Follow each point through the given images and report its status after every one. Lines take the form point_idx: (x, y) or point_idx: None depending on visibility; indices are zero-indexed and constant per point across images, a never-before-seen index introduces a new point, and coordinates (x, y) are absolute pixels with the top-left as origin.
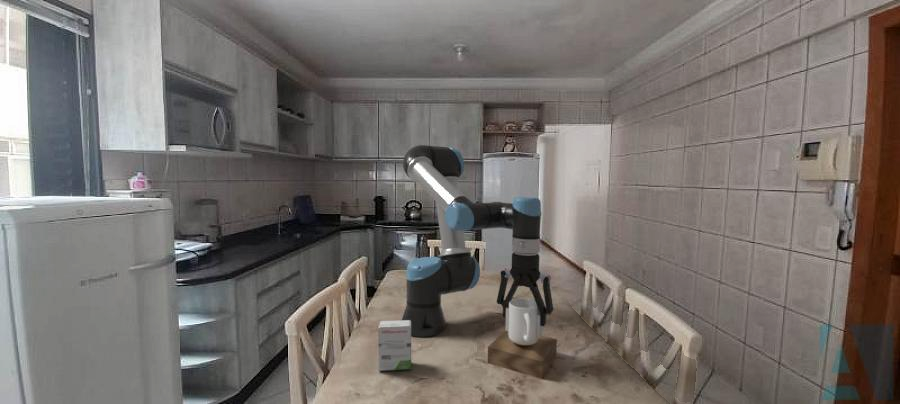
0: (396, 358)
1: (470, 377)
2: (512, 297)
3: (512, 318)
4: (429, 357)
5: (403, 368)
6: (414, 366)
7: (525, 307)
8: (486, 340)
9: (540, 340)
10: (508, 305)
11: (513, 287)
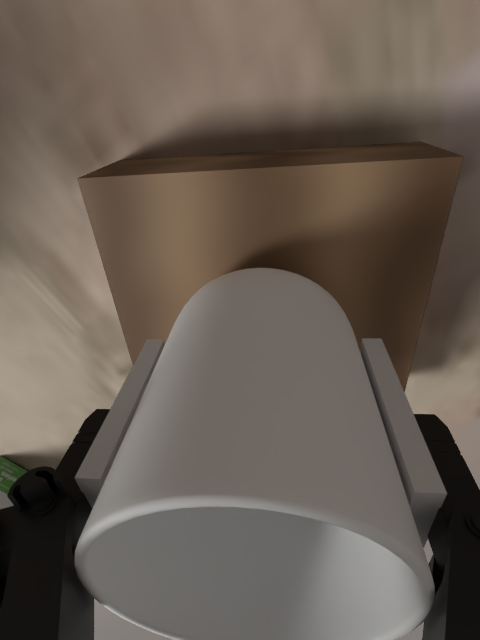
0: None
1: None
2: (62, 596)
3: (207, 522)
4: (14, 424)
5: None
6: (33, 467)
7: (213, 406)
8: (29, 210)
9: (347, 246)
10: (80, 502)
11: None
